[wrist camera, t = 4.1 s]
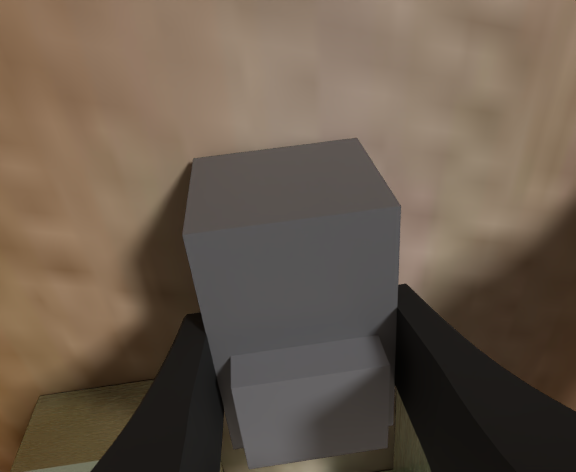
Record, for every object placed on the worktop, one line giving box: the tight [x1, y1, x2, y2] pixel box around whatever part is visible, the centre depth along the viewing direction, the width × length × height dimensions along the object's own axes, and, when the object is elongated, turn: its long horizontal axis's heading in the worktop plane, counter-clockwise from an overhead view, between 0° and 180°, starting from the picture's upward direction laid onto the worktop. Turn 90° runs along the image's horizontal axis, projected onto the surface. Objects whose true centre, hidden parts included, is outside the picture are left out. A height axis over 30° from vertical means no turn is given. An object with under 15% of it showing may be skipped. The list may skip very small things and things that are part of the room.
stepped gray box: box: [182, 138, 401, 469], centre depth 13 cm, size 4×7×5 cm, turn 5°
